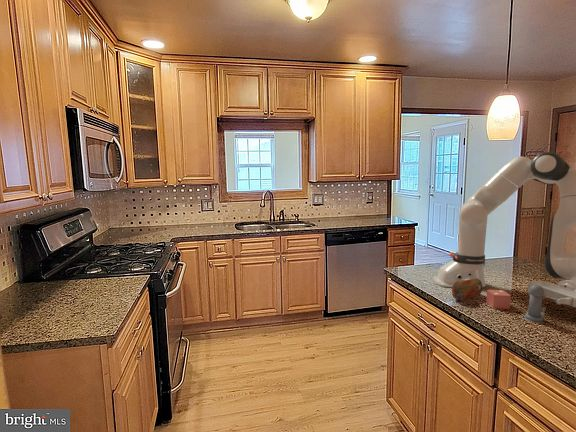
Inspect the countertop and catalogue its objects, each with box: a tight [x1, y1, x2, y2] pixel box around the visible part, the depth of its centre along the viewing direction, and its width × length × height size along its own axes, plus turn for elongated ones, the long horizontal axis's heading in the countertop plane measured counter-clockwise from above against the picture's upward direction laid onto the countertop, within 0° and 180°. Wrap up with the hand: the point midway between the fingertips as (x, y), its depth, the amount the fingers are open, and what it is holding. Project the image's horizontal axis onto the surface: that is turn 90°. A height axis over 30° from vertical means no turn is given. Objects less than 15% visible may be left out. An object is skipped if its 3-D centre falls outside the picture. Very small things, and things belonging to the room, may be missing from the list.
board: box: [524, 306, 547, 324], centre depth 128 cm, size 19×12×1 cm, turn 141°
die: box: [485, 289, 512, 310], centre depth 135 cm, size 6×6×6 cm
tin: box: [451, 278, 483, 302], centre depth 145 cm, size 15×3×8 cm, turn 114°
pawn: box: [524, 285, 544, 323], centre depth 123 cm, size 5×5×12 cm
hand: (542, 296), depth 123 cm, fingers open, 8 cm apart
